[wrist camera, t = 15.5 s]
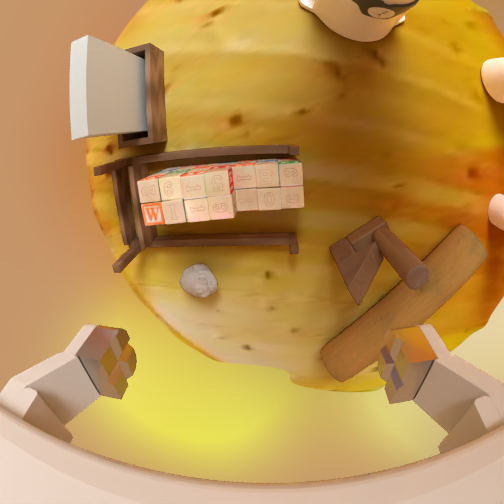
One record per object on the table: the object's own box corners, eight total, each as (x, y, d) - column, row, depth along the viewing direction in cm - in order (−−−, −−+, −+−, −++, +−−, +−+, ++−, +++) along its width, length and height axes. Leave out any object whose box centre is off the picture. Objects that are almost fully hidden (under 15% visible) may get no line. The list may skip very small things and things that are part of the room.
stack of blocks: (296, 156, 43) (306, 165, 31) (298, 194, 45) (307, 216, 34) (166, 167, 44) (135, 181, 33) (172, 203, 47) (143, 226, 36)
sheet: (141, 67, 37) (71, 42, 19) (154, 64, 37) (88, 34, 19) (144, 132, 42) (71, 140, 24) (157, 130, 42) (88, 135, 23)
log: (451, 215, 44) (480, 233, 35) (468, 245, 47) (494, 266, 37) (316, 339, 58) (322, 373, 48) (342, 358, 60) (350, 390, 51)
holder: (131, 59, 36) (115, 52, 31) (163, 51, 36) (150, 42, 30) (135, 145, 43) (118, 148, 37) (167, 141, 42) (153, 142, 37)
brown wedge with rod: (328, 246, 48) (354, 305, 32) (378, 214, 45) (426, 258, 29) (337, 262, 50) (365, 323, 33) (386, 230, 46) (434, 280, 30)
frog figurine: (224, 284, 53) (218, 305, 46) (189, 285, 53) (179, 306, 47) (219, 254, 50) (212, 273, 44) (182, 257, 51) (171, 275, 45)
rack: (121, 158, 44) (82, 169, 33) (294, 144, 42) (304, 149, 31) (134, 242, 50) (103, 272, 39) (295, 239, 48) (302, 272, 37)
